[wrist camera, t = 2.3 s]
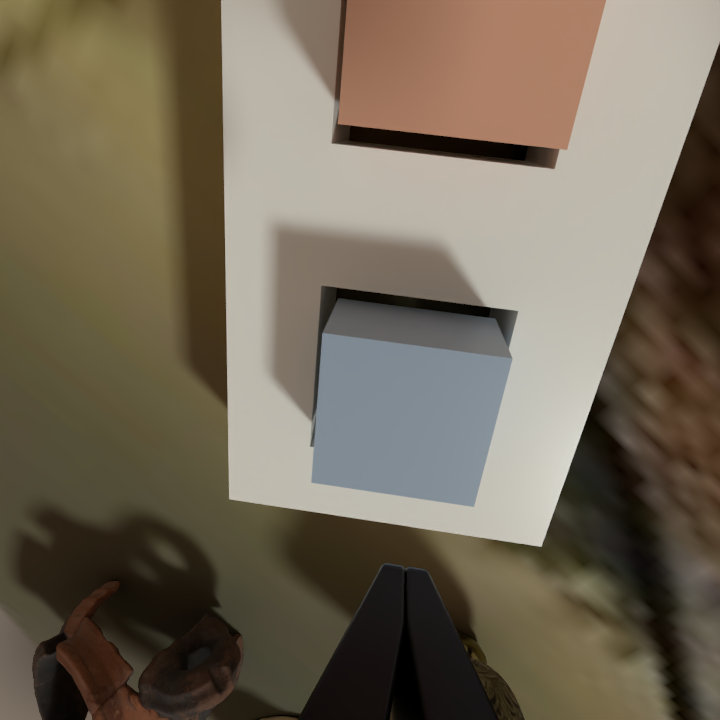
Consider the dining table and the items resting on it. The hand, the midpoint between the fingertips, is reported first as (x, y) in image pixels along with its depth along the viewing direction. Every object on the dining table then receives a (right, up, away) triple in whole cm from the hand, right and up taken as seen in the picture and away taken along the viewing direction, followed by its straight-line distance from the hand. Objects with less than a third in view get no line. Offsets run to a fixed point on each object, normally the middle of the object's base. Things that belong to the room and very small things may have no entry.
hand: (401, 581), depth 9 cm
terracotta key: (+2, +12, +3) cm, 13 cm away
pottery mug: (-11, -11, +20) cm, 26 cm away
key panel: (+2, +9, +8) cm, 13 cm away
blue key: (+1, +3, +8) cm, 8 cm away
